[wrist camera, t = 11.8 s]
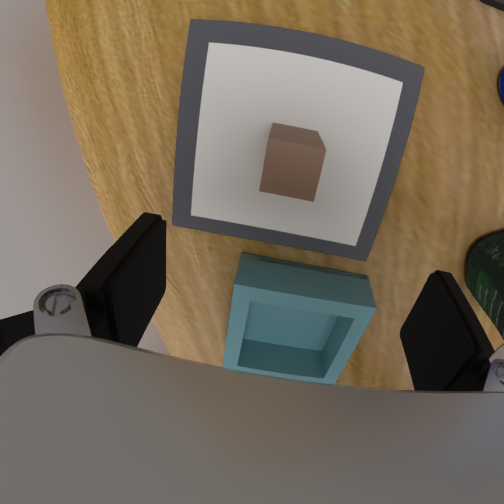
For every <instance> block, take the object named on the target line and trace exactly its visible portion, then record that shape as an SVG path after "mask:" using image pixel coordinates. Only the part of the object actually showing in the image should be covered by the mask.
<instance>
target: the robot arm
mask: <svg viewBox="0 0 504 504" xmlns="http://www.w3.org/2000/svg"><path fill="white" fill-rule="evenodd" d="M165 289H166V221H165V220H162V217H161V215H157V214H152V213H146V212H144V213H143V214H142V215H141V216H140V217H139V218H138V219H137V220H136V221H135V222H134V223H133V224H132V225H131V226H130V227H129V228H128V230H127V231H126V232H125V233H124V234H123V235H122V236H121V237H120V238H119V239H118V240H117V241H116V242H115V244H114V245H113V246H111V247H110V248H109V249H108V251H106V253H105V254H104V255H103V256H102V257H101V258H100V259H99V260H98V262H97V263H96V264H95V265H94V266H93V267H92V269H91V270H90V271H89V272H88V273H87V274H86V275H85V277H84V278H83V279H82V280H81V281H80V282H79V284H78V285H77V286H76V287H72V286H70V285H63V284H60V285H54V286H51V287H48V288H46V289H44V290H43V291H41V292H40V293H39V294H38V295H37V297H36V298H35V300H34V305H33V311H29V312H26V313H22V314H18V315H15V316H11V317H8V318H4V319H1V320H0V504H504V359H500V358H498V359H494V360H493V361H492V362H491V363H490V361H489V358H490V357H491V356H492V354H493V353H494V352H495V351H494V349H493V347H492V345H491V343H490V341H489V339H488V337H487V335H486V333H485V331H484V329H483V328H482V326H481V324H480V322H479V320H478V318H477V316H476V315H475V313H474V311H473V309H472V307H471V306H470V304H469V302H468V300H467V299H466V297H465V295H464V294H463V292H462V290H461V289H460V287H459V285H458V284H457V282H456V280H455V279H454V277H453V276H452V274H451V273H449V272H444V271H440V270H436V271H435V272H434V273H431V274H430V275H429V277H428V279H427V281H426V283H425V285H424V287H423V289H422V291H421V293H420V295H419V297H418V299H417V300H416V302H415V304H414V306H413V308H412V310H411V311H410V313H409V315H408V317H407V319H406V320H405V322H404V324H403V326H402V328H401V330H400V338H401V341H402V345H403V348H404V352H405V355H406V359H407V362H408V366H409V370H410V374H411V377H412V381H413V385H414V389H415V391H414V390H393V389H378V388H364V387H353V386H343V385H333V384H324V383H316V382H308V381H301V380H293V379H287V378H280V377H274V376H267V375H261V374H255V373H250V372H244V371H239V370H234V369H228V368H223V367H219V366H214V365H209V364H204V363H200V362H195V361H191V360H187V359H182V358H178V357H174V356H170V355H165V354H161V353H157V352H154V351H150V350H145V349H142V348H138V347H137V346H138V344H139V341H140V340H141V338H142V336H143V334H144V332H145V330H146V328H147V326H148V324H149V322H150V320H151V318H152V316H153V314H154V312H155V310H156V309H157V307H158V305H159V303H160V301H161V299H162V297H163V295H164V293H165Z"/></svg>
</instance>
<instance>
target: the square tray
mask: <svg viewBox="0 0 504 504" xmlns="http://www.w3.org/2000/svg"><path fill="white" fill-rule="evenodd" d="M375 310H376V304H375V301H374V297H373V294H372V290H371V287H370V283H369V280H368V277H367V276H366V275H361V274H355V273H350V272H345V271H339V270H334V269H328V268H323V267H317V266H312V265H306V264H301V263H296V262H290V261H285V260H279V259H274V258H269V257H263V256H258V255H252V254H247V253H242V255H241V259H240V263H239V267H238V271H237V275H236V279H235V283H234V289H233V296H232V303H231V310H230V317H229V324H228V331H227V337H226V344H225V351H224V359H223V366H222V367H223V368H228V369H234V370H239V371H244V372H250V373H255V374H261V375H267V376H274V377H280V378H287V379H293V380H301V381H308V382H316V383H324V384H333V385H334V383H335V382H336V380H337V379H338V377H339V375H340V374H341V372H342V370H343V369H344V367H345V365H346V363H347V362H348V360H349V358H350V357H351V355H352V353H353V351H354V350H355V348H356V346H357V344H358V342H359V341H360V339H361V337H362V335H363V333H364V331H365V330H366V328H367V326H368V324H369V322H370V320H371V318H372V316H373V314H374V312H375Z"/></svg>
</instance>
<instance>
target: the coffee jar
mask: <svg viewBox="0 0 504 504" xmlns="http://www.w3.org/2000/svg"><path fill="white" fill-rule="evenodd" d="M466 283H467V287H468V288H469V290H470V292H471V293H472V295H473V296H474V298H475V299H476V300H477V302H478V303H479V305H480V306H481V307H482V308H483V310H484V311H485V312H486V314H487V315H488V317H489V318H490V319H491V321H492V322H493V324H494V325H495V327H496V328H497V330H498V331H499V333H500V334H501V336H502V338H503V339H504V231H503V232H499V233H496V234H493V235H490V236H488V237H485V238H483V239H482V240H480V241H479V242H478V243H476V245H475V246H474V248H473V249H472V251H471V253H470V255H469V258H468V262H467V269H466Z"/></svg>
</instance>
